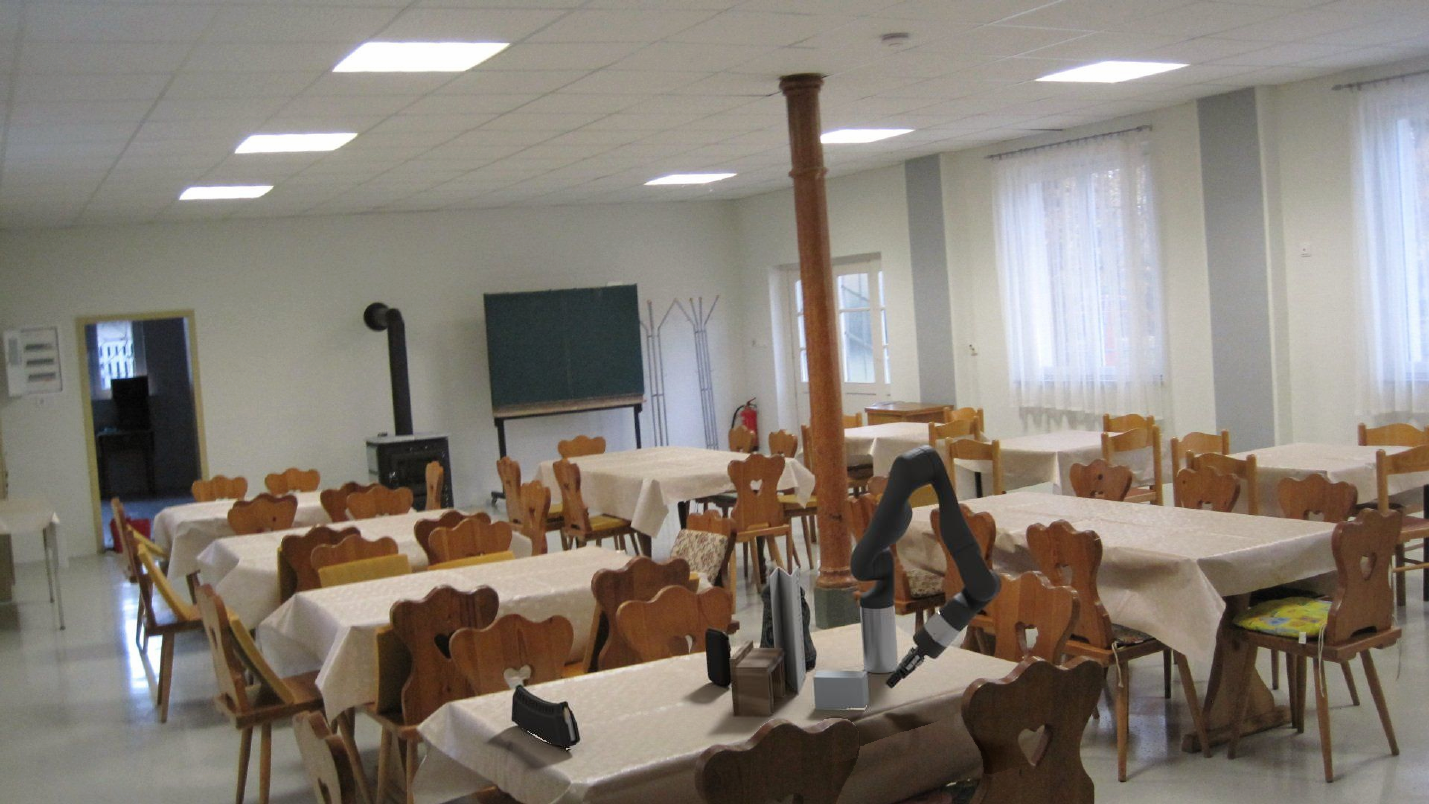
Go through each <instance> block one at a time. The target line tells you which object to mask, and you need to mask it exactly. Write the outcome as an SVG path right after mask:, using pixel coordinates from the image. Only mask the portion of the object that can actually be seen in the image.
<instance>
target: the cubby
mask: <svg viewBox="0 0 1429 804" xmlns="http://www.w3.org/2000/svg"><path fill="white" fill-rule="evenodd" d="M784 656H785V652H783V649H782V648H759V647H754V640H753V639H746V641H745V642H744V643H743V644H742V645H741V646H740V647H739V648H738V649H737V650H736V651H735V653H733V654H732V655H731V658H730V659H729V660H730V674H731V684H730V687H731V699H732V700H731V702H732V713H733V717H757V718H758V717H763V718H764V717H766V718H767V717H768V718H770V717H771V716H772V714H773V713H774V711H775V709H774V708H775V707H774V701H778V700H779V701H782V700H783V699H784V697H785V696H786V683H785V682H786V680H785V678H784V664H783V657H784Z"/></svg>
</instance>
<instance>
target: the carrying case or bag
mask: <svg viewBox="0 0 1429 804" xmlns="http://www.w3.org/2000/svg"><path fill="white" fill-rule="evenodd" d="M704 641H705V643H704V644H705V656H706V659H705V660H706V671H707V672H706V673H707V677H708V680H709V681H711V682H712V684H713V683H714V684H716V685H719V686H721V687H724V688H728V687H731V674H730V660H729V659H730V658H731V657H732V654H731V651H732V648H731V647H732V646H731V644H730V637H729V634H727V633H726V632H725V631H723V630H720V629H716V628H714V627H713V628H712V627H710V628H708V629H706V631H705V633H704Z"/></svg>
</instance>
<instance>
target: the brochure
mask: <svg viewBox="0 0 1429 804" xmlns="http://www.w3.org/2000/svg"><path fill="white" fill-rule="evenodd" d="M799 567H800V566H799V565H796V566H795V569H794V570H793V572H792V573H791V574H789V573H788V572H787V571H785V570H784V569H783V568H781V567H780V566H779V565H777V567H776V568H775V569H774V570H773V572H772V573H771V574H770V576H769V584H770V591H771V606H772V620H773V635H774V648H782V649H783V652H785V656H784V657H783V664H784V678H785V681H786V680H787V682H788V683H789V684H790V686H791V687H792V688H793V689H794V691H795V692H796V693H797V694H798V695H799V694H800V692H801V690H802V688H803V687H804V684H805V681H806V679H807V673H806V671H807V670H806V669H805V655H804V640H803V625H802V610H801V596H800V586H801V584H800V583H801V582H800V568H799Z"/></svg>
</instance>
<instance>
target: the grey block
mask: <svg viewBox="0 0 1429 804" xmlns="http://www.w3.org/2000/svg"><path fill="white" fill-rule="evenodd" d="M812 678H813V693H814V695H813V696H814V709H815V710H823V711H825V710H827V711H828V710H829V711H837V710H836V709H847V708H849V709H850V708H865V707H866V705H867V704H868V702H869V703H870V697H869V682H868V680H869V679H868V672H867V671H865V670H823V669H822V670H819V669H818V670H817V672H816V673H815V675H814V676H813V677H812ZM868 705H869V704H868ZM866 708H867V707H866Z"/></svg>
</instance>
